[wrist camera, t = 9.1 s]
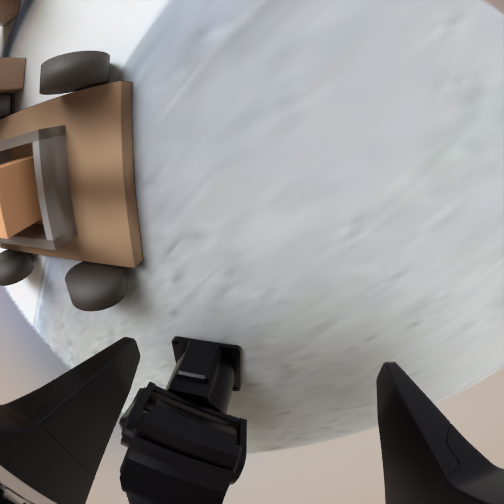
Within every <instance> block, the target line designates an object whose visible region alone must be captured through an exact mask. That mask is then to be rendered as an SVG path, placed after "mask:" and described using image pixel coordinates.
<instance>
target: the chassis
mask: <svg viewBox="0 0 504 504" xmlns="http://www.w3.org/2000/svg"><path fill="white" fill-rule="evenodd" d="M109 61H110V55H109V54H107V53H105V52H100V51H79V52H72V53H67V54H63V55H59V56H56V57H53V58H51V59H49V60H47V61H45V62H44V63H43V64H42V65H41V74H40V94H44V95H51V94H62V93H69V92H73V93H70V94H66V95H63V96H60V97H57V98H54V99H51V100H48V101H45V102H42V103H39V104H37V105H34V106H31V107H29V108H26V109H24V110H21V111H19V112H16V113H14V114H12V115H10V99H11V96H10V95H0V165H1V164H4V163H7V162H9V161H13V160H16V159H19V158H24V157H29V156H33V157H34V167H35V176H36V184H37V191H38V197H39V203H40V209H41V215H42V219H41V220H39V221H37V222H35V223H34V224H32V225H30V226H28V227H27V228H25V229H23V230H22V231H20V232H18V233H17V234H15V235H13V236H12V237H10V238H9V239H5V238H0V247H1V248H4V249H8V250H5V251H3V252H1V253H0V285H1V286H6V285H11V284H14V283H17V282H19V281H21V280H23V279H24V278H26V277H27V276H28V275H29V274H30V273H31V272H32V271H33V268H34V266H33V262H32V259H31V255H30V253H34V254H40V255H46V256H53V257H59V258H66V259H73V260H80V261H83V262H81V263H79V264H77V265H75V266H74V267H73V268H71V269H70V270H69V271H68V273H67V274H66V277H65V281H66V285H67V288H68V291H69V294H70V297H71V300H72V303H73V305H74V306H75V307H76V308H78V309H80V310H83V311H99V310H103V309H107V308H109V307H112V306H114V305H115V304H117V303H119V302H120V301H121V300H122V299H123V298H124V297H125V296H126V294H127V291H128V286H127V281H126V277H125V272H124V267H131V268H136V266H137V265H138V264H139V263H140V262H141V261H142V260H143V254H142V247H141V239H140V231H139V223H138V214H137V204H136V193H135V181H134V166H133V145H132V82H128V81H117V82H112V83H108V82H109Z"/></svg>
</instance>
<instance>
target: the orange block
mask: <svg viewBox="0 0 504 504" xmlns="http://www.w3.org/2000/svg"><path fill="white" fill-rule="evenodd" d="M41 219H42V215H41V209H40V203H39V197H38V191H37V184H36V176H35V167H34V157H33V156H29V157H24V158H19V159H16V160H13V161H9V162H7V163H4V164H1V165H0V238H5V239H9V238H10V237H12V236H13V235H15V234H17V233H18V232H20V231H22V230H23V229H25V228H27V227H28V226H30V225H32V224H34V223H35V222H37V221H39V220H41Z"/></svg>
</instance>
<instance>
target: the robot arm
mask: <svg viewBox="0 0 504 504" xmlns="http://www.w3.org/2000/svg"><path fill="white" fill-rule="evenodd" d="M172 345H173V350H174V355H175V360H176V366H175V368H174V371H173V373H172V375H171V377H170V380H169V382H168V384H167V386H166V389H163V388H160V387H158V386H156V384H154V383H152V382H149V384H148V386H147V387H146V388H145V387H144V388H140V389H139V391H138V393H137V395H136V397H135V398H134V400H133V402H132V404H131V405H130V406H129V408H128V409H127V410H126V412H125V413H124V414H123V416H122V417H121V419H120V422H119V424H120V426H121V429H122V434H121V435H122V439H121V444H122V445H124V446H126V447H128V450H127V452H126V455H125V457H124V460H123V463H122V465H121V468H120V473H121V475H120V482H121V487H122V490H123V491H125V492H126V494H127V497H128V500H129V503H130V504H222V503H223V500H224V496H225V494H226V491H227V489H228V487H229V485H231V484H234V483H235V482H236V481H237V479H238V478H239V476H240V474H241V472H242V470H243V467H244V464H245V460H246V438H247V420H246V419H243V418H236V417H233V416H231V415H228V414H226V413H227V409H228V405H229V401H230V397H231V393H232V391H239V390H240V387H241V348H240V347H239V346H236V345H229V344H221V343H214V342H208V341H201V340H195V339H189V338H183V337H174V338H173V340H172ZM234 350H236V351H234ZM139 360H140V352H139V349H138V346H137V343H136V341H135V339H133V338H129V337H124V338H122V339H120V340H119V341H117V342H115V343H114V344H112V345H110V346H109V347H107V348H105V349H104V350H102V351H101V352H99V353H97V354H96V355H94V356H92V357H91V358H89V359H87V360H86V361H84V362H82V363H81V364H79V365H78V366H76V367H74V368H73V369H71V370H69V371H68V372H66V373H64V374H63V375H61V376H59V377H58V378H56V379H54V380H53V381H51V382H49V383H48V384H46V385H44V386H43V387H41V388H39V389H37V390H35V391H33V392H31V393H29V394H27V395H25V396H22V397H20V398H18V399H16V400H14V401H12V402H10V403H7V404H4V405H0V504H85V503H86V500H87V497H88V494H89V492H90V489H91V486H92V483H93V480H94V478H95V475H96V472H97V470H98V467H99V464H100V462H101V459H102V457H103V454H104V452H105V449H106V446H107V444H108V442H109V439H110V437H111V434H112V432H113V429H114V427H115V425H116V422H117V420H118V418H119V415H120V413H121V410H122V408H123V406H124V404H125V401H126V399H127V397H128V394H129V392H130V389H131V386H132V382H133V379H134V376H135V373H136V370H137V367H138V364H139ZM376 384H377V412H378V425H379V433H380V441H381V450H382V460H383V470H384V482H385V500H386V504H504V469H501V468H499V467H497V466H495V465H493V464H492V463H491V462H490V461H489V460H487V459H486V458H485V457H484V456H483V455H482V454H481V453H480V452H479V451H478V450H477V449H475V448H474V447H473V446H472V445H471V444H470V443H469V442H468V441H467V440H466V439H465V438H464V437H463V436H462V435H461V434H460V433H459V432H458V430H456V428H455V427H454V426H453V425H452V424H450V422H449V420H448V419H447V418H446V417H445V416H444V415H443V414H442V413H441V411H440V410H439V409H438V408H437V407H436V406H435V405H434V404H433V403H432V401H431V400H430V399H429V398H428V397H427V396H426V395H425V394H424V393H423V392H422V390H421V389H420V388H419V387H418V386H417V385H416V384H415V383H414V382H413V381H412V379H411V378H410V377H409V376H408V375H407V374H406V373H405V372H404V371H403V370H402V369H401V368H400V367H399V365H398V364H397V363H395V362H385V363H384V364H383V365H382V368H381V370H380V372H379V374H378V377H377V382H376Z"/></svg>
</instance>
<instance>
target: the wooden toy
mask: <svg viewBox="0 0 504 504" xmlns="http://www.w3.org/2000/svg"><path fill="white" fill-rule="evenodd" d="M20 2H21V0H0V26H3V25H5V24H6V23H7V22H9V21H10V20H11V19H13V18H14V17H15V16H17V14H18V10H19V5H20ZM25 61H26V58H0V95H10V94H12V93H14V92H16V91H18V90H20V89H22V88H23V87H24V72H25Z"/></svg>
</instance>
